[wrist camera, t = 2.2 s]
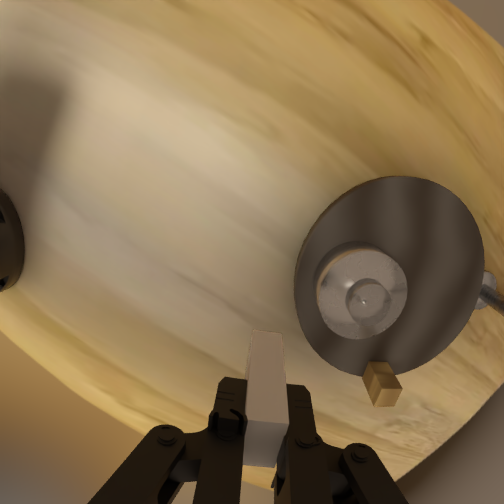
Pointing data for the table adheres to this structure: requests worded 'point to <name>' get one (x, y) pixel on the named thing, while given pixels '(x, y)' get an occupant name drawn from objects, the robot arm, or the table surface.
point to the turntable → (414, 267)
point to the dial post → (490, 294)
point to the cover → (359, 290)
